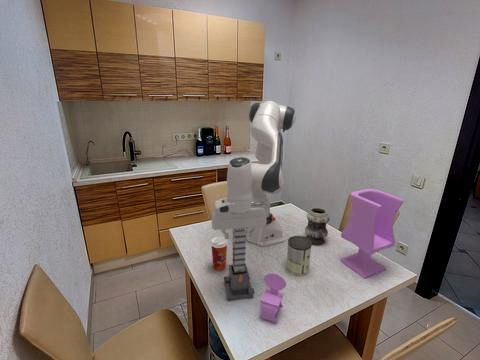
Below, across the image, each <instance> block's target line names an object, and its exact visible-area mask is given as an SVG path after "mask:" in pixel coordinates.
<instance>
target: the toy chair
mask: <svg viewBox="0 0 480 360" xmlns="http://www.w3.org/2000/svg"><path fill="white" fill-rule="evenodd" d="M263 282H264V284H265V285H266V287H267V288H265V291H264V293H263V295H262V297H261V299H260V303H259V304H260V308H261V315H260V316H259V318H261V319H264V320H267V321H268V322H272V323H275V324H277V323H278V321H277V319H276V315H277V312H278V311H279V308H280V307H281V308H283V307H284V306H283V304H282V300H283V298H284V293H283V292H279V291H282V290H284V289H285V288H286V286H287V281H286V280H285V278H283V276H282V275H280V274H279V273H277V272H272V273H271V272H270V273H267V274H265V275H264V276H263Z"/></svg>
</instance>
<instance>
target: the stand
mask: <svg viewBox="0 0 480 360" xmlns="http://www.w3.org/2000/svg"><path fill="white" fill-rule="evenodd" d="M250 280H251V276H250V273H249V270H248V267H247V265H246V262H245V272H244V273H234V270H233V264H229V265H228V276H223V282H224V285H225V293H226V298H227V302H230V301H238V300H246V299H253V298H254V295H255V294H256V292H255V289H254V287H252V285H251V282H250Z"/></svg>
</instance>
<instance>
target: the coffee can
mask: <svg viewBox="0 0 480 360" xmlns="http://www.w3.org/2000/svg"><path fill="white" fill-rule="evenodd" d="M306 237H307V236H302V235H293V236H290V237H289V238H288V239H287V253H286V265H285V266H286V268H285V269H286V270H287V271H288V272H289V273H290V274H292V275H294V276H299V277H300V276H301V277H302V276H305V275H307V274H308V273H309V271H310V261H311V251H312V245H313V244H312V242H311V241H310V240H309V239H308V238H306Z"/></svg>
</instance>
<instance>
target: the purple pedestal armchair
mask: <svg viewBox="0 0 480 360" xmlns="http://www.w3.org/2000/svg"><path fill="white" fill-rule="evenodd" d="M350 199H351V209H350V215H349V217H348V218H349V219H348V221H347V223H346V225H345V227H344V228H343V230H342V231H341V233H340V237H341V238H342V239H343V240H345V241H347V242H349V243H352V244H353V245H355V246H356V247H358V251H357V252H356V253H353V254H350V255H347V256H345V257H342V258H341V257H340V260H339V261H340V262H341V263H343V264H344V265H345V266H347V267H348V268H349V269H351V270H352V271H353V272H355V273H356V274H358V275H359V276H360V277H361V278H363V279H367V278H369V277H371V276H373V275H377V274H378V273H381V272H384V271H386V267H385V266H384V265H382V264H381V263H379V262H378V261H376V260H374V259H372V258H371V256H372V255H373V254H376V253H378V252H379V251H382V250H386V249H391V248H393V247H395V245H396V239H395V234H394V221H395V219H396V215H397V214H398V211H399V210H400V208H401V207H402V205H403V204H404V202H405V199H404V198H402V197H401V198H400V197H399V196H395V195H393V194H390V193H387V192H384V191H382V190H379V189H375V188H366V189H360V190H356V191H351V192H350Z"/></svg>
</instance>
